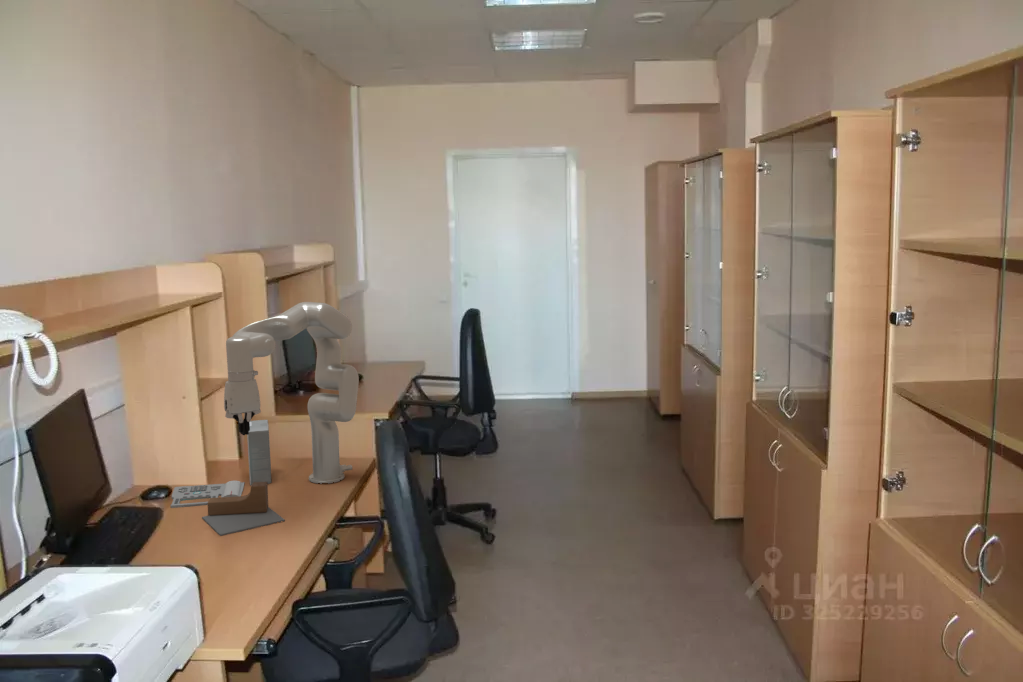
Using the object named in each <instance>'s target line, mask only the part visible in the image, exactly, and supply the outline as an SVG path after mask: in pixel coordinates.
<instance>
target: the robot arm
mask: <svg viewBox="0 0 1023 682" xmlns="http://www.w3.org/2000/svg"><path fill="white" fill-rule="evenodd" d="M305 330H306V331H307V332H308V334H309V335H310V336H311V337H312V339H313V341H314V343H315V345H316V350H317V351H316V362H315V364H316V365H315V374H314V382H315V385H316V386H317V387H318V388H320V389H323V390H330V391H338V394H337V393H327V392H318V393H314V394H312V395H311V396H310V398H309V399H308V402H307V413H308V417H309V421H310V428H311V430H310V431H311V453H312V455H311V456H312V472H311V474H309V476H308V481H309V482H311V483H314V484H318V483H320V484H319V485H321V484H322V483H328V484H334V483H338V482H341V481H342V480H344V479H345V471H347V472H348V471H352V470H353V465H352V464H348V465H346V463H345V464H340V434H339V432H340V431H339V428H338V427H339V426H338V425H337V423H347V422H350V421H351V420H352V419H353V418H354V417H355V415H356V410H357V402H358V393H359V384H360V383H359V382H360V381H359V380H360V379H359V373H358V371H357V369H356V368H355V366H353V365H351V364H347V363H345V364H344V363H342V347H341V344H340V342H339V340H343V339H347V338H348V337H349V336H350V335H351V333H352V330H353V324H352V321H351V319H350V318H349V317H348V316H347V315H346V314H344V313H343V312H341V311H340V310H338V309H337V308H336V307H334V306H332V305H331V304H328V303H326V302H315V301H303V302H302V301H301V302H299V303H296V304H295V305H293V306H292V307H290V308H288V309H287V310H285V311H284V312H283V311H282V312H281V313H279V314H278V315H276V316H272V317H268V318H266V319H263V320H258V321H255V322H252V323H249V324H248V325H246V326H244V327H242V328H240V329H238V330H237V331H235V332H234V334H232V336H231V337H229V338H227V339H226V340H225V349H226V363H227V365H226V366H227V380H226V381H225V385H224V392H223V393H224V394H223V408H224V411H225V416H224V417H225V418H226V419H234V420H236V421H237V423H238V433H240V435H242V436H247V435H248V434H249V431H250V424H249V422H250V421H252V419H253V418H254V416H257V415H258V414H261V412H262V411H261V396H260V391H259V386H258V382H257V379H255V376H258V375H259V371H258V370H254V358H265V357H268V356H270V355H271V354H273V353H274V351H275V348H276V342H279V341H285V340H290V339H292V338H294V336H296V335H298V334H299V333H301V332H302V331H305ZM243 414H244V417H243ZM336 422H337V423H336ZM340 480H341V481H340ZM333 482H334V483H333Z"/></svg>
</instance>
